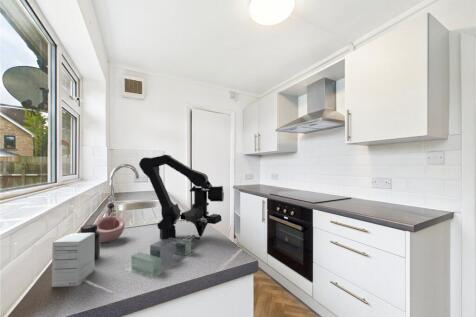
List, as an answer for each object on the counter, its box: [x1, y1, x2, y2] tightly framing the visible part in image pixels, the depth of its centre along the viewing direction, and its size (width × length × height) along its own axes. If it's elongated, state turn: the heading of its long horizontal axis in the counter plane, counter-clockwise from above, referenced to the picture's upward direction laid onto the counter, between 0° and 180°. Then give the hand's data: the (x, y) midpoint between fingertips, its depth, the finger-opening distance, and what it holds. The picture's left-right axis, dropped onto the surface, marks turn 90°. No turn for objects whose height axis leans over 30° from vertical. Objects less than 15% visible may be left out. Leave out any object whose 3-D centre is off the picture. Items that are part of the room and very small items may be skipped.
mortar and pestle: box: [93, 215, 126, 243], centre depth 89 cm, size 12×12×11 cm
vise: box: [124, 250, 195, 280], centre depth 70 cm, size 12×20×5 cm, turn 154°
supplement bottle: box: [79, 223, 101, 262], centre depth 72 cm, size 7×7×12 cm
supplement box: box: [51, 232, 95, 288], centre depth 60 cm, size 7×7×13 cm
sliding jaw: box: [166, 234, 201, 255], centre depth 80 cm, size 10×12×4 cm
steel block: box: [149, 239, 173, 265], centre depth 69 cm, size 4×6×6 cm
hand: (200, 236), depth 89 cm, fingers closed
